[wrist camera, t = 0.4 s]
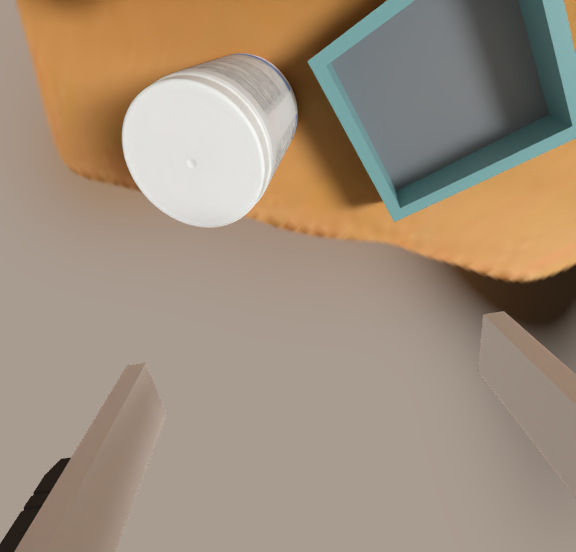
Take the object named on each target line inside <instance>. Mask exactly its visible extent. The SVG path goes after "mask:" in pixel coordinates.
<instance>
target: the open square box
mask: <svg viewBox="0 0 576 552" xmlns="http://www.w3.org/2000/svg"><path fill="white" fill-rule="evenodd" d="M307 62H308V63H309V65H310V67H311V69H312V71H313V73H314V75H315V76H316V78H317V80H318V82H319V84H320V86H321V88H322V89H323V91H324V93H325V95H326V97H327V99H328V100H329V102H330V104H331V106H332V108H333V110H334V112H335V113H336V115H337V117H338V119H339V121H340V123H341V124H342V126H343V128H344V130H345V132H346V134H347V136H348V137H349V139H350V141H351V143H352V145H353V147H354V148H355V150H356V152H357V154H358V156H359V158H360V160H361V161H362V163H363V165H364V167H365V169H366V171H367V172H368V174H369V176H370V178H371V180H372V182H373V184H374V185H375V187H376V189H377V191H378V193H379V195H380V197H381V198H382V200H383V202H384V204H385V206H386V208H387V209H388V211H389V213H390V215H391V217H392V219H393V221H394V222H395V221H398V220H400V219H402V218H404V217H406V216H408V215H411V214H413V213H415V212H417V211H419V210H421V209H424V208H426V207H428V206H430V205H432V204H434V203H437V202H439V201H441V200H443V199H445V198H447V197H450V196H452V195H454V194H456V193H458V192H460V191H463V190H465V189H467V188H469V187H471V186H473V185H476V184H478V183H480V182H482V181H484V180H486V179H489V178H491V177H493V176H495V175H497V174H499V173H502V172H504V171H506V170H508V169H510V168H512V167H515V166H517V165H519V164H521V163H523V162H525V161H528V160H530V159H532V158H534V157H536V156H538V155H541V154H543V153H545V152H547V151H549V150H551V149H554V148H556V147H558V146H560V145H562V144H564V143H567V142H569V141H571V140H573V139H575V138H576V55H575V50H574V46H573V41H572V37H571V32H570V27H569V23H568V18H567V13H566V9H565V4H564V0H387V1H386V2H384V3H383V4H382V5H380V6H379V7H378V8H376V9H375V10H374V11H372V12H371V13H370V14H369V15H367V16H366V17H365V18H363V19H362V20H361V21H359V22H358V23H357V24H356V25H354V26H353V27H352V28H350V29H349V30H348V31H346V32H345V33H344V34H342V35H341V36H340V37H339V38H337V39H336V40H335V41H333V42H332V43H331V44H329V45H328V46H327V47H325V48H324V49H323V50H322V51H320V52H319V53H318V54H316V55H315V56H314V57H312V58H311V59H310V60H309V61H307Z"/></svg>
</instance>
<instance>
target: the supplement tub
mask: <svg viewBox="0 0 576 552" xmlns="http://www.w3.org/2000/svg"><path fill="white" fill-rule="evenodd" d="M297 119H298V109H297V102H296V98H295V95H294V92H293V90H292V88H291V86H290V84H289V82H288V80H287V79H286V78H285V76H284V75H283V74H282V72H281V71H280V70H279V69H278V68H277V67H276V66H275V65H273V64H272V63H271V62H269V61H268V60H266V59H264V58H262V57H259V56H256V55H253V54H247V53H237V54H231V55H228V56H225V57H221V58H218V59H215V60H212V61H208V62H205V63H202V64H199V65H196V66H193V67H190V68H187V69H184V70H181V71H177V72H175V73H172V74H169V75H167V76H164V77H162V78H161V79H159V80H157V81H156V82H154V83H153V84H152V85H150V86H148V87H147V88H145V89H144V90H142V91H141V92H140V93H139V94H138V95H137V96H136V97H135V99H134V100H133V101H132V103H131V104H130V106H129V108H128V110H127V112H126V115H125V117H124V121H123V127H122V148H123V153H124V158H125V161H126V164H127V167H128V169H129V172H130V174H131V176H132V178H133V179H134V181H135V183H136V184H137V186H138V187H139V189H140V190H141V192H142V193H143V194H144V195H145V196H146V198H147V199H148V200H149V201H150V202H151V203H153V204H154V205H155V206H156V207H157V208H158V209H160V210H161V211H162V212H164V213H165V214H167V215H168V216H170V217H172V218H173V219H176V220H178V221H180V222H182V223H185V224H188V225H192V226H197V227H204V228H208V227H209V228H213V227H221V226H225V225H228V224H231V223H233V222H235V221H237V220H239V219H240V218H242V217H243V216H244V215H246V214H247V213H248V212H249V211H250V210H251V209H252V207H253V206H254V205H255V204H256V203H257V202H258V201H259V200H260V198H261V197H262V195H263V194H264V192H265V190H266V188H267V186H268V184H269V182H270V181H271V179H272V177H273V175H274V173H275V171H276V169H277V167H278V165H279V163H280V161H281V160H282V158H283V156H284V154H285V152H286V150H287V148H288V146H289V144H290V142H291V140H292V138H293V136H294V133H295V130H296V126H297Z"/></svg>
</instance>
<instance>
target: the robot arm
mask: <svg viewBox="0 0 576 552" xmlns="http://www.w3.org/2000/svg"><path fill="white" fill-rule="evenodd" d="M478 372H479V373H480V374H481V376H482V377H483V379H484V380H485V381H486V383H487V384H488V385H489V386H490V388H491V389H492V390H493V392H494V393H495V394H496V395H497V397H498V398H499V399H500V400H501V402H502V403H503V405H504V406H505V407H506V408H507V410H508V411H509V412H510V414H511V415H512V416H513V417H514V419H515V420H516V421H517V423H518V424H519V425H520V426H521V428H522V429H523V430H524V432H525V433H526V434H527V436H528V437H529V438H530V439H531V441H532V442H533V443H534V445H535V446H536V447H537V449H539V451H540V452H541V454H542V455H543V456H544V458H545V459H546V460H547V461H548V463H549V464H550V465H551V467H552V468H553V469H554V470H555V471H556V473H557V474H558V476H559V477H560V478H561V480H562V481H563V482H564V484H565V485H566V486H567V487H568V488H569V490H570V491H571V493H572V494H573V495H574V496H575V498H576V374H575V373H573V372H572V371H571V370H570V369H569V368H568V367H567V366H566V365H564V364H563V363H562V362H561V361H560V360H559V359H557V358H556V357H555V356H554V355H553V354H552V353H551V352H550V351H548V350H547V349H546V348H545V347H544V346H543V345H542V344H540V343H539V342H538V341H537V340H536V339H535V338H534V337H532V336H531V335H530V334H529V333H528V332H527V331H526V330H524V329H523V328H522V327H521V326H520V325H519V324H518V323H517V322H515V321H514V320H513V319H512V318H511V317H510V316H509V315H507V314H506V313H505V312H497V313H490V314H484V315H483V323H482V334H481V344H480V355H479V365H478ZM166 415H167V413H166V411H165V408H164V406H163V403H162V401H161V399H160V396H159V394H158V391H157V389H156V387H155V384H154V382H153V379H152V377H151V375H150V372H149V370H148V367H147V365H146V363H143V364H136V365H129V366H126V368H125V370H124V371H123V373H122V375H121V376H120V378H119V380H118V381H117V383H116V385H115V386H114V388H113V390H112V391H111V393H110V395H109V396H108V398H107V400H106V401H105V403H104V404H103V406H102V408H101V409H100V411H99V413H98V415H97V416H96V418H95V419H94V421H93V423H92V424H91V426H90V428H89V429H88V431H87V433H86V434H85V436H84V438H83V439H82V441H81V442H80V444H79V446H78V447H77V449H76V451H75V452H74V454H73V456H72V457H71V458H66V459H61V460H60V461H59V462H58V463H57V464H56V465H55V466H54V467H53V468H52V469H51V470H50V471H49V472H48V473H47V474H46V475H45V476H44V477H43V479H42V481H41V482H40V484H39V485H38V487H37V488H36V490H35V491H34V495H33V496H31V497H30V499H29V500H28V502H27V503H26V505H25V507H24V511H22V512H21V513H20V514H19V516H18V517H17V519H16V520H15V522H14V524H13V525H12V527H11V528H10V530H9V531H8V533H7V534H6V536H5V538H4V539H3V540H2V542H1V544H0V552H115V551H116V548H117V546H118V543H119V540H120V538H121V535H122V532H123V530H124V527H125V524H126V522H127V519H128V516H129V514H130V511H131V508H132V506H133V503H134V500H135V498H136V495H137V492H138V490H139V487H140V484H141V482H142V479H143V476H144V474H145V471H146V468H147V466H148V463H149V460H150V458H151V455H152V452H153V450H154V447H155V444H156V442H157V439H158V436H159V434H160V431H161V428H162V426H163V423H164V420H165V418H166Z"/></svg>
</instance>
